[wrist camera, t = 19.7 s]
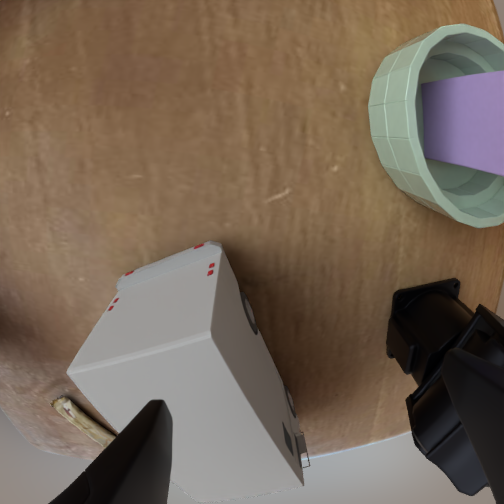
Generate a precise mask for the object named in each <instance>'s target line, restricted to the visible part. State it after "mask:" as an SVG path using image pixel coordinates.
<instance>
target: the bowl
mask: <svg viewBox="0 0 504 504" xmlns="http://www.w3.org/2000/svg"><path fill="white" fill-rule="evenodd" d="M495 71H504V44H503V43H502V42H500V41H499V40H498V39H496V38H495V37H494V36H492V35H491V34H489V33H488V32H487V31H485V30H482V29H479V28H476V27H473V26H470V25H467V24H455V25H448V26H442V27H439V28H437V29H434V30H432V31H430V32H427V33H425V34H423V35H421V36H418V37H416V38H414V39H412V40H410V41H408V42H405V43H403V44H401V45H400V46H399V47H397V48H396V49H395V50H394V51H392V52H391V53H390V54H388V55H387V56H386V57H385V58H384V60H383V61H382V63H381V65H380V67H379V69H378V70H377V72H376V74H375V76H374V78H373V81H372V87H371V93H370V98H369V104H368V111H369V120H370V130H371V136H372V140H373V143H374V145H375V148H376V151H377V153H378V156H379V159H380V162H381V164H382V166H383V168H384V169H385V170H386V172H387V173H388V175H389V176H390V177H391V179H392V180H393V182H394V183H395V185H396V186H397V187H398V188H399V189H400V190H401V191H403V192H404V193H405V194H407V195H408V196H409V197H411V198H412V199H413V200H414V201H416V202H417V203H419V204H422V205H424V206H426V207H428V208H430V209H432V210H435V211H437V212H439V213H441V214H443V215H445V216H447V217H449V218H451V219H453V220H455V221H457V222H460V223H463V224H466V225H470V226H473V227H476V228H484V227H491V226H497V225H500V224H502V223H503V222H504V177H503V176H500V175H496V174H492V173H488V172H484V171H480V170H476V169H472V168H468V167H464V166H459V165H455V164H450V163H446V162H441V161H436V160H431V159H426V158H425V157H424V125H423V104H422V90H421V84H423V83H427V82H432V81H438V80H443V79H449V78H454V77H460V76H466V75H473V74H480V73H487V72H495Z"/></svg>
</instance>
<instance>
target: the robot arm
mask: <svg viewBox="0 0 504 504" xmlns="http://www.w3.org/2000/svg"><path fill="white" fill-rule="evenodd" d="M454 284H455V285H454ZM459 289H460V281H459V280H458V279H456V278H452V279H448V280H443V281H439V282H434V283H430V284H425V285H421V286H416V287H411V288H406V289H401V290H398V291H396V292H395V293H394V295H393V302H392V312H391V317H390V319H389V323H388V332H387V340H386V344H387V355H388V357H389V358H396V360H397V362H398V363H399V365H400V367H401V368H402V370H403V371H404V373H405V374H407V375H408V374H411V375H412V376H413V378H414V380H415V381H416V383H417V384H418V386H419V387H418V388H417V389H416V390H415V391H414V392H413V394H410V395H409V396H408V397H407V399H406V405H407V410H408V415H409V420H410V426H411V431H412V436H413V440H414V443H415V445H416V447H417V448H418V449H419V450H420V451H421V452H422V454H423V455H425V457H426V458H427V459H428V460H429V461H431V462H432V463H434V464H435V465H437V466H438V467H439V468H440V469H441V470H442V471H443V472H444V473H445V474H446V475H447V477H448V478H449V479H450V480H451V482H452V483H453V485H454V486H455V487H456V489H457V490H458V491H459V492H461V493H464V494H466V495H469V496H474V495H475V494H477V493H478V492H479V491H480V490H482V489H483V488H484V487H490V488H491V491H492V493H493V496H494V498H495V500H496V504H504V320H503V319H501V318H500V317H499V316H497V315H496V314H494V313H493V312H492V311H490V310H489V309H487V308H486V307H484V306H483V305H481V304H479V305H478V307H477V308H476V312H475V313H474V312H472V311H471V310H470V309H469V308H468V307H467V306H466V305H465V304H464V303H463V302H461V301H460V300H459V299H458V294H459ZM400 295H401V297H400V298H398V297H399V296H400ZM172 438H173V419H172V415H171V413H170V411H169V409H168V407H167V405H166V402H165V401H164V400H162V399H152V400H150V401H149V402H148V403H147V404H146V405H145V406H144V407H143V408H142V409H141V411H140V412H139V413H138V414H137V415H136V416H135V417H134V418H133V419H132V420H131V421H130V423H129V424H128V425H127V426H126V427H125V428H124V429H123V430H122V431H121V432H120V433H119V434H118V435H117V437H116V438H115V439H114V440H113V441H112V442H111V443H110V444H109V445H108V446H107V447H106V448H105V449H104V450H103V451H102V453H101V454H100V455H99V456H98V457H97V458H96V459H95V460H94V461H93V462H92V463H91V464H90V465H89V466H88V467H87V468H86V469H85V471H84V472H82V474H81V475H80V476H79V477H78V478H77V479H76V480H75V481H74V482H73V483H72V484H71V485H70V486H69V487H68V488H66V489H65V490H64V491H63V492H62V493H61V494H60V495H58V496H57V497H56V498H55V499H53V500H52V501H51V502H50V503H48V504H167V497H168V490H169V483H170V475H171V468H172Z"/></svg>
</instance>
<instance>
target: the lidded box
mask: <svg viewBox="0 0 504 504" xmlns="http://www.w3.org/2000/svg"><path fill="white" fill-rule="evenodd" d="M421 90H422V104H423V125H424V157H425V158H426V159H431V160H436V161H441V162H446V163H450V164H455V165H459V166H464V167H468V168H472V169H476V170H480V171H484V172H488V173H492V174H496V175H500V176H503V177H504V71H495V72H487V73H480V74H473V75H466V76H460V77H454V78H449V79H443V80H438V81H432V82H427V83H423V84H421Z"/></svg>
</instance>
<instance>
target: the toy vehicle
mask: <svg viewBox="0 0 504 504" xmlns="http://www.w3.org/2000/svg"><path fill="white" fill-rule="evenodd" d="M116 288H117V289H118V293H117V294H116V296H115V297H114V299H113V300H112V301H111V303H110V304H109V306H108V307H107V309H106V310H105V312H104V313H103V315H102V316H101V318H100V319H99V321H98V322H97V324H96V325H95V327H94V328H93V330H92V331H91V333H90V334H89V336H88V337H87V339H86V341H85V342H84V344H83V345H82V347H81V348H80V350H79V352H78V353H77V355H76V356H75V358H74V360H73V361H72V363H71V364H70V366H69V368H68V370H67V374H68V376H69V377H70V378H71V379H72V381H73V382H74V383H75V384H76V386H77V387H78V388H79V389H80V391H81V392H82V393H83V394H84V395H85V397H86V398H87V399H88V400H89V401H90V402H91V404H92V405H93V406H94V407H95V408H96V409H97V410H98V412H99V413H100V414H101V415H102V416H103V417H104V418H105V419H106V420H107V421H108V422H109V424H110V425H111V426H112V427H113V428H114V429H115V430H116V431H117V432H118V433H120V432H121V431H122V430H123V429H124V428H125V427H126V426H127V425H128V424H129V423H130V421H131V420H132V419H133V418H134V417H135V416H136V415H137V414H138V413H139V412H140V411H141V409H142V408H143V407H144V406H145V405H146V404H147V403H148V402H149V401H150V400H152V399H162V400H164V401H165V402H166V405H167V407H168V409H169V411H170V413H171V415H172V419H173V438H172V468H171V475H170V481H172V482H173V483H174V484H175V485H176V486H178V487H179V488H180V489H182V490H183V491H184V492H185V493H187V494H188V495H189V496H190V497H192V498H193V499H195V500H196V501H197V502H199V503H206V502H217V501H225V500H234V499H241V498H249V497H255V496H260V495H266V494H271V493H275V492H281V491H285V490H290V489H293V488H298V487H302V486H304V479H303V471H302V463H301V455H300V454H301V453H305V452H307V448H306V443H305V438H304V433H303V432H301V430H300V425H299V420H298V416H297V414H296V413H295V408H294V403H293V400H292V399H293V398H292V397H291V394H290V392H289V389H288V387H287V386H283V382H282V379H281V377H280V375H279V373H278V371H277V368H276V366H275V364H274V362H273V360H272V358H271V355H270V353H269V351H268V349H267V347H266V344H265V342H264V340H263V338H262V336H261V333H260V331H259V329H258V328H257V326H256V322H255V318H254V314H253V310H252V307H251V305H250V303H249V301H248V298H247V296H246V295H245V293H244V292H239V287H238V282H237V280H236V277H235V275H234V273H233V271H232V268H231V266H230V264H229V261H228V259H227V257H226V255H225V252H224V250H223V247H222V244H221V243H218V242H215V241H208V242H205V243H203V244H200V245H197V246H195V247H192V248H190V249H187V250H184V251H182V252H179V253H177V254H174V255H172V256H169V257H166V258H164V259H161V260H159V261H156V262H154V263H151V264H149V265H146V266H144V267H141V268H138V269H136V270H133V271H131V272H128V273H126V274H123V275H122V277H121V278H120V279H119V280H118V282H117V284H116ZM301 433H303V435H301ZM307 457H308V453H307ZM308 461H309V457H308ZM309 466H310V462H309ZM307 467H308V466H307ZM303 468H304V467H303Z"/></svg>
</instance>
